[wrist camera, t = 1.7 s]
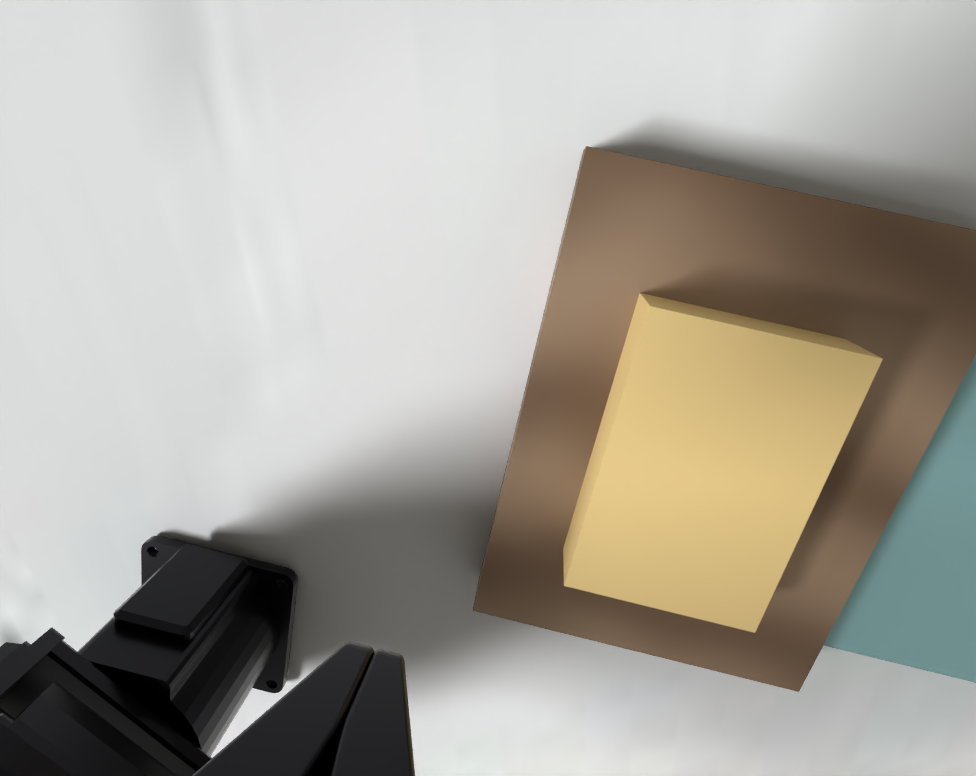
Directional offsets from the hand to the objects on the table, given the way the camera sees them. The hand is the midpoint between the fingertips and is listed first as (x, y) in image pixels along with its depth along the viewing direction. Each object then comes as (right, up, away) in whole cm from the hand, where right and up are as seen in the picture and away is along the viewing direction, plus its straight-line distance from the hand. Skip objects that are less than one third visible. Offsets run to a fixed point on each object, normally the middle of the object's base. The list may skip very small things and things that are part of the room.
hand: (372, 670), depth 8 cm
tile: (+8, +2, +10) cm, 13 cm away
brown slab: (+9, +3, +12) cm, 15 cm away
